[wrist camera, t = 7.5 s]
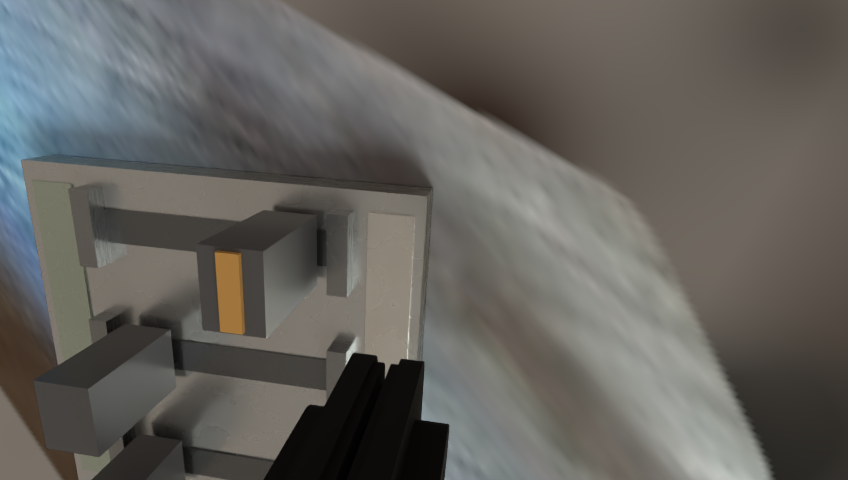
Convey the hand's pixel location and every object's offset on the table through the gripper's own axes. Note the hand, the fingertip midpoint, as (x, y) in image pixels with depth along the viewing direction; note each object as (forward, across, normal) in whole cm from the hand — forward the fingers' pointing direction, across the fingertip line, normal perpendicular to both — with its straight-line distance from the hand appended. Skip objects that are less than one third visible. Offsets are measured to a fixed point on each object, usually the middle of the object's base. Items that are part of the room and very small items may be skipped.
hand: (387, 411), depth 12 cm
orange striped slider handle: (+12, +7, +1) cm, 14 cm away
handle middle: (+12, +15, +8) cm, 21 cm away
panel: (+14, +11, +8) cm, 20 cm away
